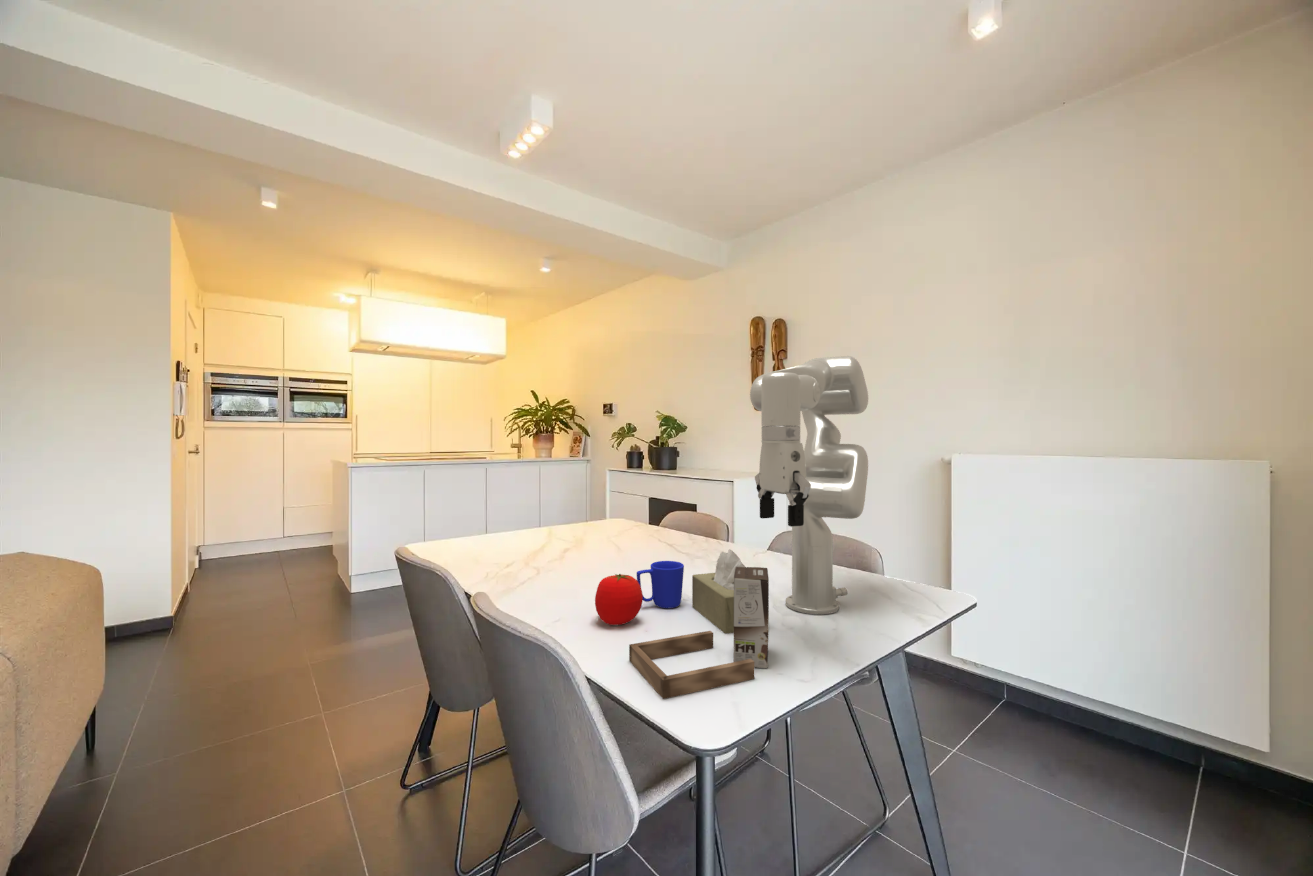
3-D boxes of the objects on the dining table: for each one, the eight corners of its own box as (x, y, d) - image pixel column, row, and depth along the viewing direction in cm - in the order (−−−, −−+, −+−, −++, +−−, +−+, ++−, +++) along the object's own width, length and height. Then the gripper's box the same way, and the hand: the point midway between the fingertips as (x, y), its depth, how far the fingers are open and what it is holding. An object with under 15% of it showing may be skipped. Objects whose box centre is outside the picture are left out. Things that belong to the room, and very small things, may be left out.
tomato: (584, 624, 116) (584, 575, 116) (614, 610, 125) (614, 565, 125) (622, 634, 110) (622, 583, 110) (650, 619, 119) (650, 572, 119)
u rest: (710, 645, 104) (710, 630, 104) (754, 678, 90) (754, 661, 90) (629, 660, 97) (629, 644, 97) (663, 699, 83) (663, 680, 83)
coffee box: (768, 669, 94) (769, 579, 94) (732, 666, 95) (732, 577, 95) (768, 648, 103) (768, 566, 103) (735, 646, 104) (735, 565, 104)
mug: (631, 604, 129) (631, 564, 129) (675, 598, 134) (675, 559, 134) (643, 614, 122) (643, 572, 122) (689, 608, 127) (689, 566, 127)
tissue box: (766, 629, 113) (766, 556, 113) (725, 635, 110) (725, 560, 110) (727, 603, 131) (727, 540, 131) (691, 607, 128) (691, 542, 128)
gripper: (825, 435, 97) (825, 527, 97) (772, 435, 113) (772, 514, 113) (791, 436, 94) (791, 530, 94) (741, 435, 110) (741, 516, 111)
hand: (780, 521), depth 104 cm, fingers open, 9 cm apart
